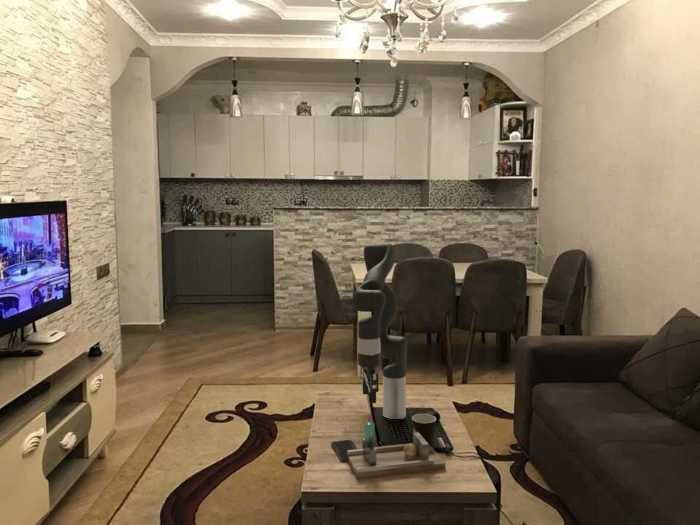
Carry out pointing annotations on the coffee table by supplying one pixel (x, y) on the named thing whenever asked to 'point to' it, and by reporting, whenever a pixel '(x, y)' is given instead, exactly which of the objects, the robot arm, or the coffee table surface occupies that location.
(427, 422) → the coffee mug
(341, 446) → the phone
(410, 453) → the nut
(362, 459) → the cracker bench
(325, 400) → the coffee table surface
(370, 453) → the moving jaw
